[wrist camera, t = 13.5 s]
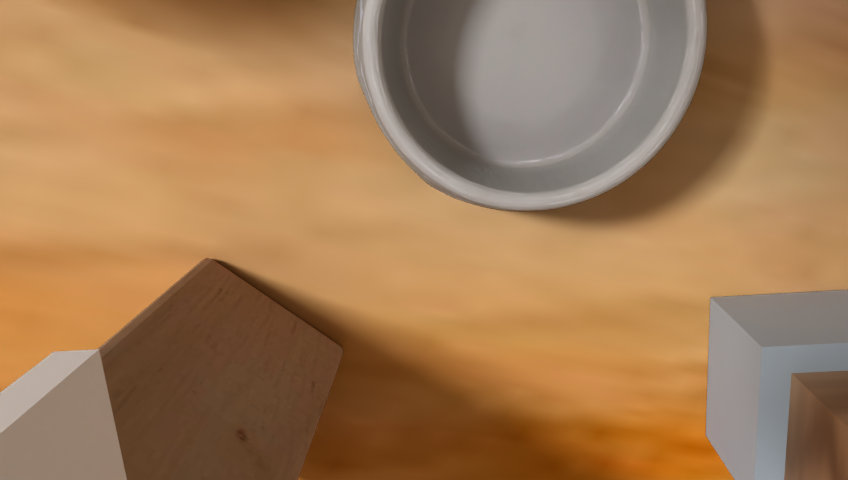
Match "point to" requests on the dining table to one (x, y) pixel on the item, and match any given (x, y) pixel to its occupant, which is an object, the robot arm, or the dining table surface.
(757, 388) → the slate block
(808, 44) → the dining table surface
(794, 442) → the walnut block
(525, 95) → the dog bowl
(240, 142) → the dining table surface
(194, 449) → the wooden block
